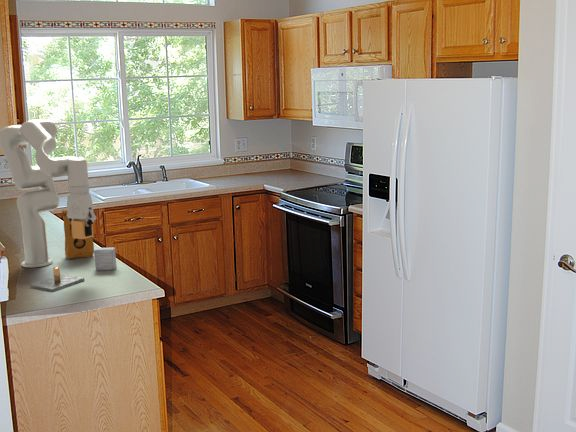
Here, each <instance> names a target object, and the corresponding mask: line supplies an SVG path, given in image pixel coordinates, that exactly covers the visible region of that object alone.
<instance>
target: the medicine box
mask: <svg viewBox="0 0 576 432" xmlns="http://www.w3.org/2000/svg"><path fill="white" fill-rule="evenodd" d="M93 257H94V265H95V271H109V270H110V271H112V270H116V268H117V259H116V258H117V255H116V247H113V246H112V247H111V246H110V247H97V248H94V253H93Z"/></svg>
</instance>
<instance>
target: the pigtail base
mask: <svg viewBox="0 0 576 432" xmlns="http://www.w3.org/2000/svg"><path fill="white" fill-rule="evenodd" d="M60 268H61V267H60V266H56V267H53V270H52V271H53V277H51V278H48V279H45V280H42V281H39V282H36V283H33V284H30V285H29V286H30V288H31V289H36V290H41V291H47V292H55V291H58V290H62V289H64V288H67V287H70V286H73V285H76V284H79V283H81V282H84V281H85V278H84V277H79V276H73V275H68V274H61V269H60Z"/></svg>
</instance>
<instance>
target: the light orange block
mask: <svg viewBox="0 0 576 432" xmlns="http://www.w3.org/2000/svg"><path fill="white" fill-rule="evenodd" d="M87 221H88V220H87ZM71 224H72V236H73V238H76V239H86V238H89V237H92V238H94V229H93V225H94V224H93V225H91V226H92V235H91V236H87V237H86V236H85V226H86V225H85V222H84V220H79V219H76V220H72V221H71Z"/></svg>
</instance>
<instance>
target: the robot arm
mask: <svg viewBox="0 0 576 432" xmlns="http://www.w3.org/2000/svg"><path fill="white" fill-rule="evenodd" d="M57 135H58V128H57V125H56V124H55V122H54V121H53V120H50V119H48V118H45V119H44V118H42V119H30V120H26V121H24V122H23V123H22V124H15V125H7V126H5V127H2V128H1V129H0V150H1V152H2V154H3V155H4V157H5V160H6V161H7V164H8V167H9V171H10V174H11V178H12V180H13V183H14V185H15V187H16V189H17V190H21V191H23V190H25V191H26V190H31V191H27V192H24V193H21V194H20V195H19V196H18V197H17V198H16V205H17V206H16V207H17V211H18V213H19V217H20V224H21V231H22V242H23V251H24V260H23V261H22V262H21V266H22V268H32V269H33V268H41V267H46V266H49V265H51V264H53V262H54V261H53V259H52V258H50V257H49V248H48V239H47V238H48V237H47V228H46V222H45V220H44V219H43V217H42V216H41V215H40V214H41V213H45V212H52V211H55V210H57V208H58V207H59V206H60V198H59V194H58V191H57V188H56V184H55V181H54V178H60V177H61V178H62V177H67V181H68V183H67V184H68V194H67V199H66V200H67V201H66V210H67V215H66V216H67V217H68V219H69V220H70V222H71V221H72V220H75V219H79V220H84V222H85V225H86V226H85V236H86V237H87V236H91V235H92V226H91V225H94V222H95V221H97V216H96V214H95V213H94V205H93V200H92V195H91V193H90V185H89V172H88V161H87V160H86V159H85V158H83V157H76V156H73V155H72V156H71V155H70V156H61V157H52V158H51V157H50V155H51V154H52V153H53V152H55V149H56V147H57V141H56V139H55V138H56V136H57ZM27 145H30V146H31V147H32V148H33V149H34V150H35V162H36V165H32V164H31V162H30V159H29V156H28V154H27V153H26V152H25V151H24V150H23V149H22V148H20V146H27ZM38 188H39V189H38ZM33 189H38V190H33ZM87 220H88V221H87Z"/></svg>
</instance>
